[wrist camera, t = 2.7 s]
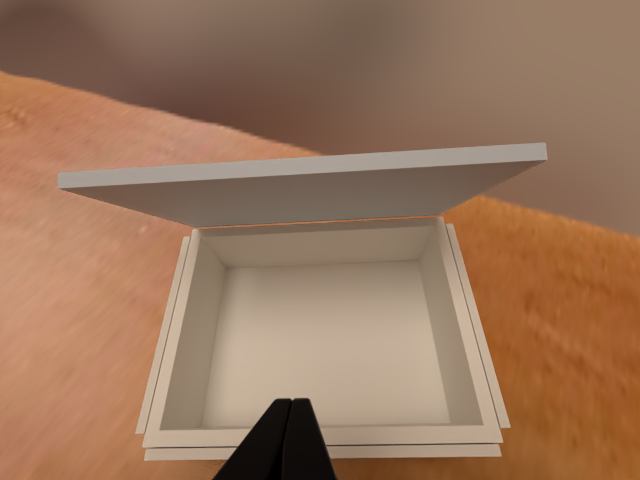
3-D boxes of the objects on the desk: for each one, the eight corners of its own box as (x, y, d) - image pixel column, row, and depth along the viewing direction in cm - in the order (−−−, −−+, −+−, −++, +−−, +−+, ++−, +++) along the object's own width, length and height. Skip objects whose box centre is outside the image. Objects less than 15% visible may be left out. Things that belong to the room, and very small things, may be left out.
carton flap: (547, 159, 8) (545, 142, 8) (57, 188, 9) (57, 172, 9) (439, 215, 17) (438, 206, 17) (195, 227, 18) (195, 219, 18)
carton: (472, 445, 16) (518, 456, 12) (183, 449, 17) (128, 460, 13) (429, 255, 22) (450, 216, 18) (215, 264, 23) (185, 229, 18)
